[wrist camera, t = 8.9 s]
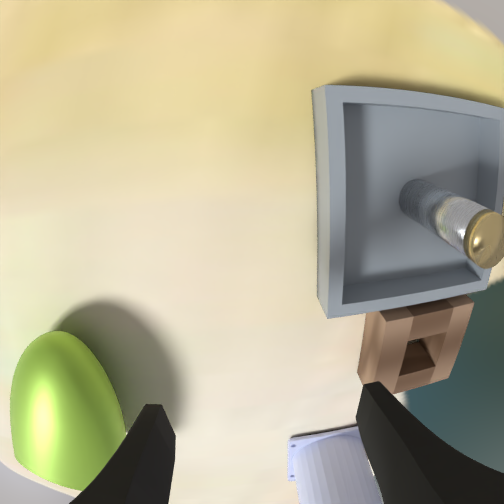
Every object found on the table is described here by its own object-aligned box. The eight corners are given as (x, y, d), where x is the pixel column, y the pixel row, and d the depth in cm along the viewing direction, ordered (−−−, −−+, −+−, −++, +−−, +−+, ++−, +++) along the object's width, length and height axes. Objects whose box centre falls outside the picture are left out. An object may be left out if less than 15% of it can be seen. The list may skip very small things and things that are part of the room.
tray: (467, 273, 20) (486, 288, 17) (316, 295, 19) (327, 318, 17) (481, 107, 15) (507, 109, 13) (311, 89, 15) (324, 85, 12)
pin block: (432, 354, 22) (448, 377, 20) (357, 372, 22) (369, 399, 20) (451, 281, 20) (474, 302, 17) (368, 295, 20) (386, 321, 17)
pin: (430, 216, 17) (505, 265, 11) (397, 219, 17) (469, 272, 11) (432, 178, 16) (514, 213, 10) (399, 178, 16) (479, 216, 10)
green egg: (104, 529, 18) (118, 425, 13) (2, 464, 18) (-39, 313, 13) (129, 477, 26) (166, 348, 20) (36, 423, 26) (31, 275, 20)
